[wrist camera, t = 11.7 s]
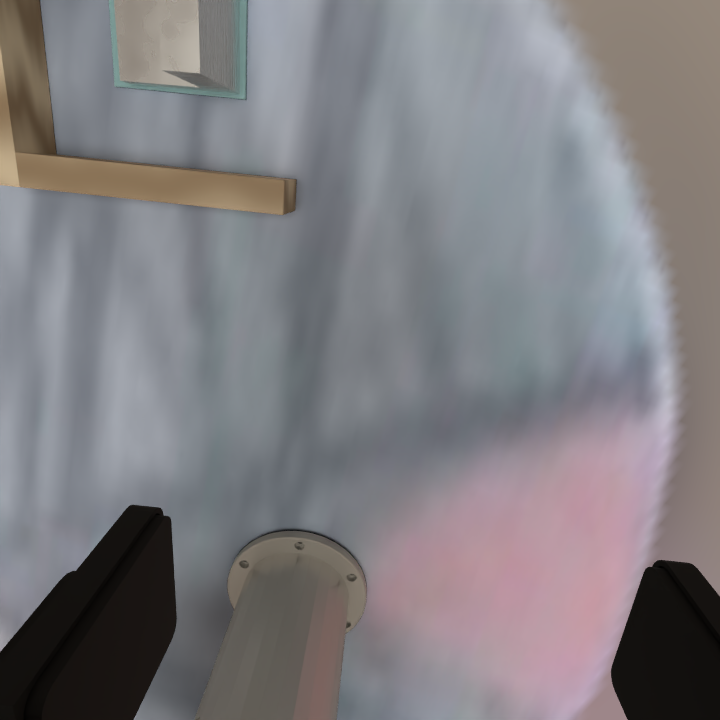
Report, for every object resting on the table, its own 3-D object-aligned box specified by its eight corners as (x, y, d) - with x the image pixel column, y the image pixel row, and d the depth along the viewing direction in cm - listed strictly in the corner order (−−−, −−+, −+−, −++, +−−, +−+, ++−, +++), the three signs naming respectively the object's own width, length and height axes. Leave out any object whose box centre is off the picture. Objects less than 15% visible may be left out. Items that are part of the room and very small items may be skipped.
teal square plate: (246, 99, 32) (245, 99, 32) (116, 86, 32) (114, 86, 32) (248, -74, 29) (247, -76, 29) (104, -87, 29) (102, -89, 29)
